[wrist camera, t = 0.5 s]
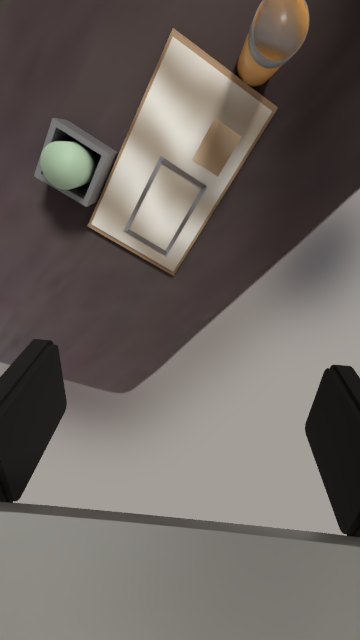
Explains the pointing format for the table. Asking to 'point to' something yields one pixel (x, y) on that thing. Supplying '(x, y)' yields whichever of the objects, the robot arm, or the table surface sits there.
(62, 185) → the button
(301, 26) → the marker
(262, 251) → the table surface
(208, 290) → the table surface
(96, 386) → the table surface
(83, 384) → the table surface
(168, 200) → the sheet
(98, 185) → the button housing
